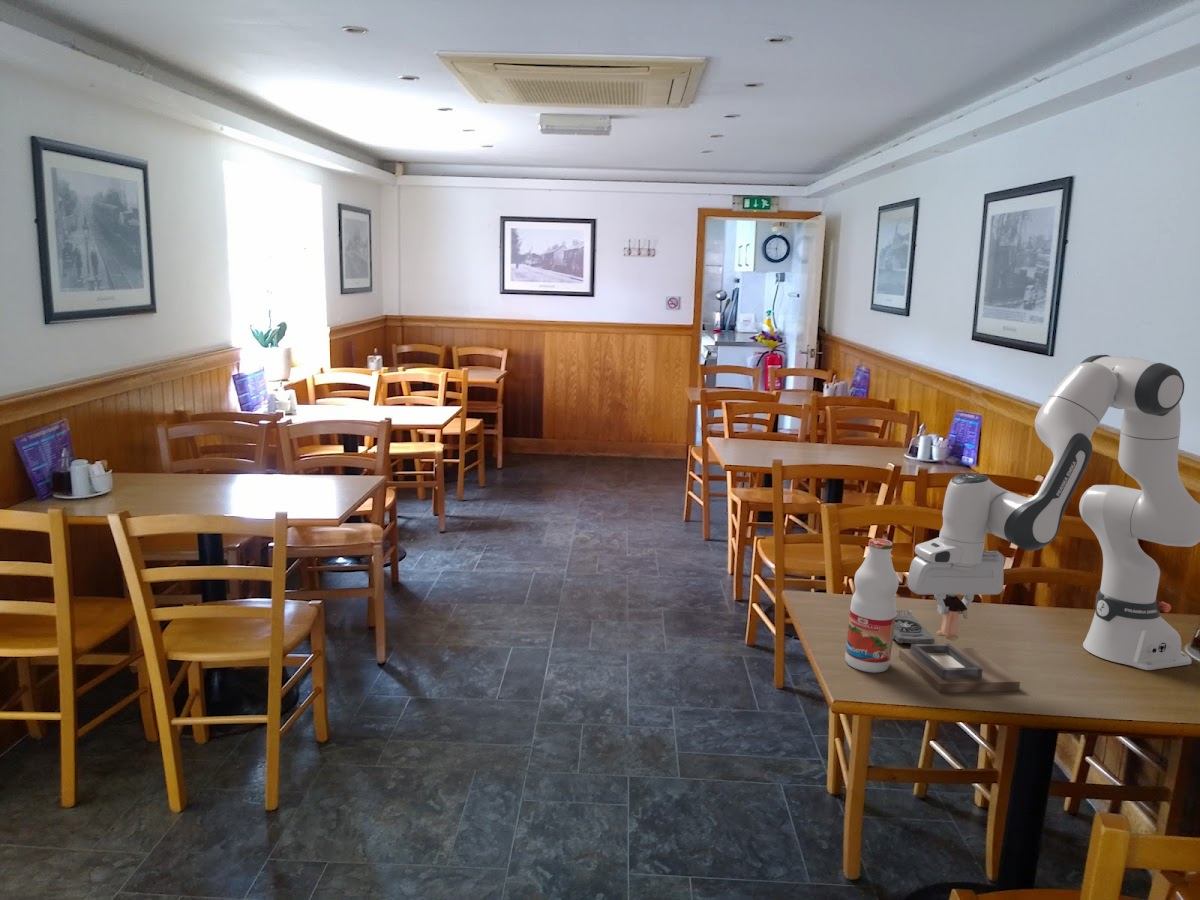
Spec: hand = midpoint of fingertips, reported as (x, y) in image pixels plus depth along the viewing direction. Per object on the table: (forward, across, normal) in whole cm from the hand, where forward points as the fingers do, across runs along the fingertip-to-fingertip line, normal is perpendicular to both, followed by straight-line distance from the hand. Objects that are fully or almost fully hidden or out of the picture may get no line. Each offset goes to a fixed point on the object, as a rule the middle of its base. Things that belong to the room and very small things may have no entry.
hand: (951, 613), depth 183 cm
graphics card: (+14, -1, -22) cm, 26 cm away
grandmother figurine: (+6, 0, 0) cm, 6 cm away
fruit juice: (+14, +15, -6) cm, 21 cm away
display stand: (+14, -3, 0) cm, 14 cm away
